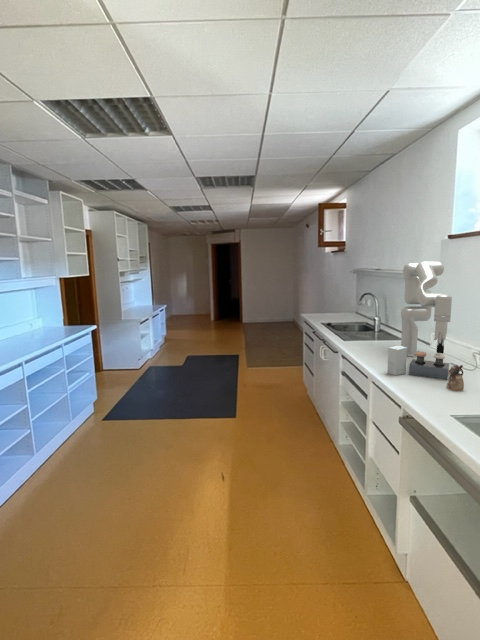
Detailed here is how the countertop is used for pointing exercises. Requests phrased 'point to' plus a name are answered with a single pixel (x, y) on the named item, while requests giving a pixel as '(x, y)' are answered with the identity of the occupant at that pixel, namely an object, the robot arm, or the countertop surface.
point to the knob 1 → (420, 357)
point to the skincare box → (397, 360)
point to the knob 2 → (439, 359)
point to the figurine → (455, 378)
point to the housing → (429, 370)
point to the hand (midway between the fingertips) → (439, 352)
